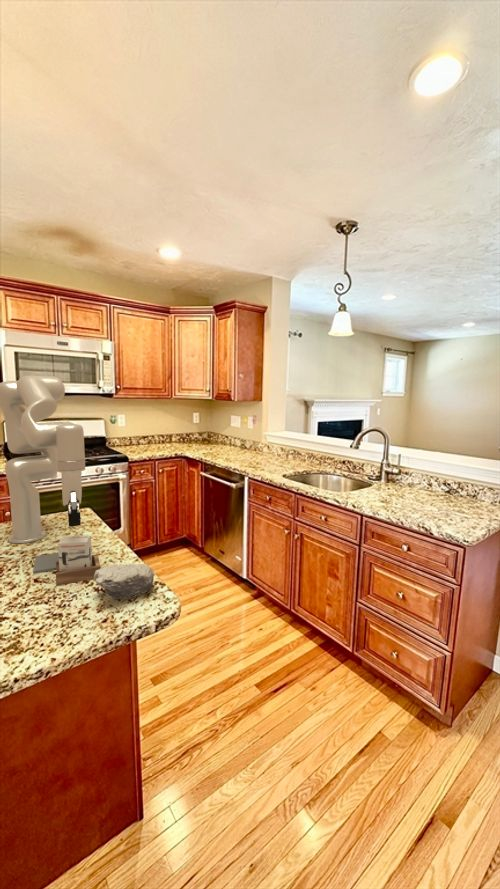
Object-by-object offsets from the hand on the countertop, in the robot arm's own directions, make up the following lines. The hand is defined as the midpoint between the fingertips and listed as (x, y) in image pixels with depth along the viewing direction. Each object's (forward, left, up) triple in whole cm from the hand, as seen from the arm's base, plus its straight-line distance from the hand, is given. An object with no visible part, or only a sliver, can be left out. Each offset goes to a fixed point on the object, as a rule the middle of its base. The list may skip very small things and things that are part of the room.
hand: (74, 520), depth 111 cm
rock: (+18, +12, -18) cm, 28 cm away
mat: (-12, -6, -18) cm, 22 cm away
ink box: (0, 0, -18) cm, 18 cm away
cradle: (0, 0, -18) cm, 18 cm away
